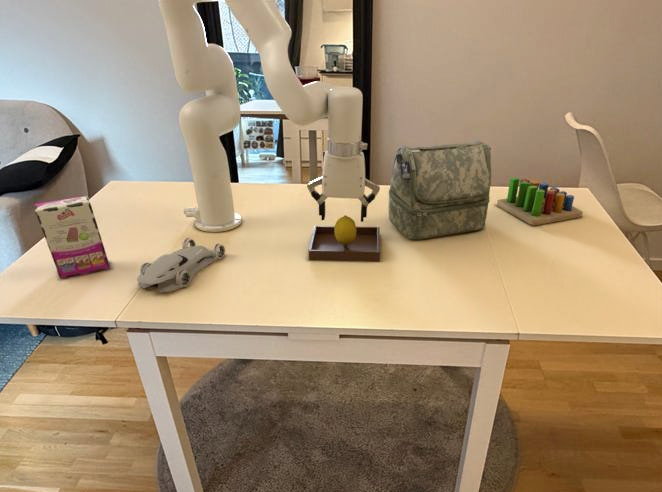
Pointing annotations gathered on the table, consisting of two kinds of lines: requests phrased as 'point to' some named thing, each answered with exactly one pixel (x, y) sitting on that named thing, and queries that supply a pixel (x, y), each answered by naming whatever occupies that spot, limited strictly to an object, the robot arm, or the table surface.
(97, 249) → the candy bar box
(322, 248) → the walnut tray
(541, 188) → the peg board
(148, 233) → the table surface
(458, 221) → the lunch bag
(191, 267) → the car model
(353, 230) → the lemon
